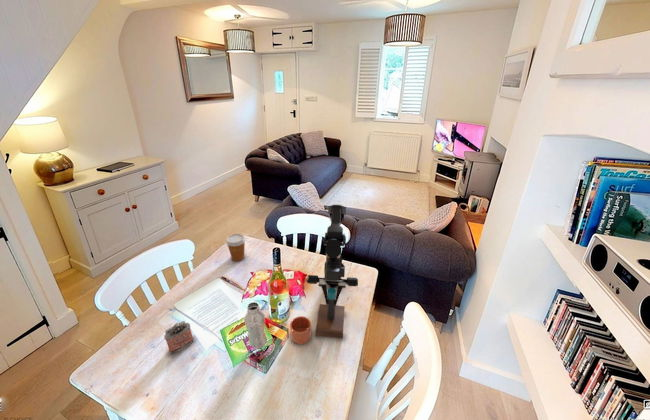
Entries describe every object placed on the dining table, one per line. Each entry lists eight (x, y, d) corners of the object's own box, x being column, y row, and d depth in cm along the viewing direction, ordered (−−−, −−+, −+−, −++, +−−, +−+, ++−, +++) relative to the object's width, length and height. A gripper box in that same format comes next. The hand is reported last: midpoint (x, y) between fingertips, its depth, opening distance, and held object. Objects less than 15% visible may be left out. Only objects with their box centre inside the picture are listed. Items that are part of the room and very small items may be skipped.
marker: (329, 312, 104) (330, 286, 98) (336, 316, 102) (337, 289, 97) (325, 317, 102) (325, 290, 96) (331, 321, 100) (332, 294, 94)
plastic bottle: (264, 359, 90) (259, 315, 82) (245, 355, 91) (238, 312, 83) (271, 342, 96) (267, 300, 87) (253, 339, 97) (247, 297, 88)
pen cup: (304, 323, 104) (304, 313, 101) (314, 337, 98) (314, 326, 96) (287, 332, 100) (286, 322, 98) (296, 347, 94) (296, 336, 92)
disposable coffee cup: (225, 261, 138) (221, 242, 133) (234, 251, 147) (231, 232, 141) (242, 264, 137) (239, 244, 132) (250, 253, 145) (248, 234, 140)
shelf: (319, 311, 110) (319, 303, 108) (344, 313, 109) (344, 306, 107) (315, 336, 99) (315, 328, 97) (342, 339, 98) (343, 331, 96)
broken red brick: (192, 335, 98) (186, 315, 94) (195, 341, 96) (190, 321, 92) (168, 349, 93) (160, 329, 89) (171, 356, 91) (164, 335, 86)
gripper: (306, 257, 96) (303, 303, 91) (359, 260, 95) (358, 307, 90) (309, 262, 106) (306, 303, 101) (357, 264, 105) (356, 307, 100)
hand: (331, 305), depth 98 cm, fingers closed on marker, 3 cm apart
